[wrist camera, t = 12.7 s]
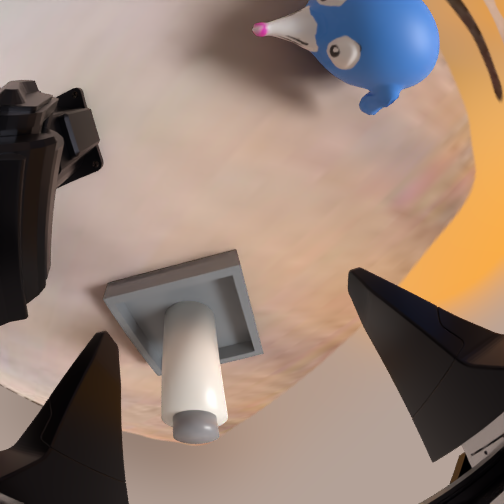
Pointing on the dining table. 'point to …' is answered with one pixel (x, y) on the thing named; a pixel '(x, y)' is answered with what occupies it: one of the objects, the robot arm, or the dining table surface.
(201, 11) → the dining table surface
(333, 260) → the dining table surface
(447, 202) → the dining table surface
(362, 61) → the blue mole toy
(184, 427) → the bottle
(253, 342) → the dish
